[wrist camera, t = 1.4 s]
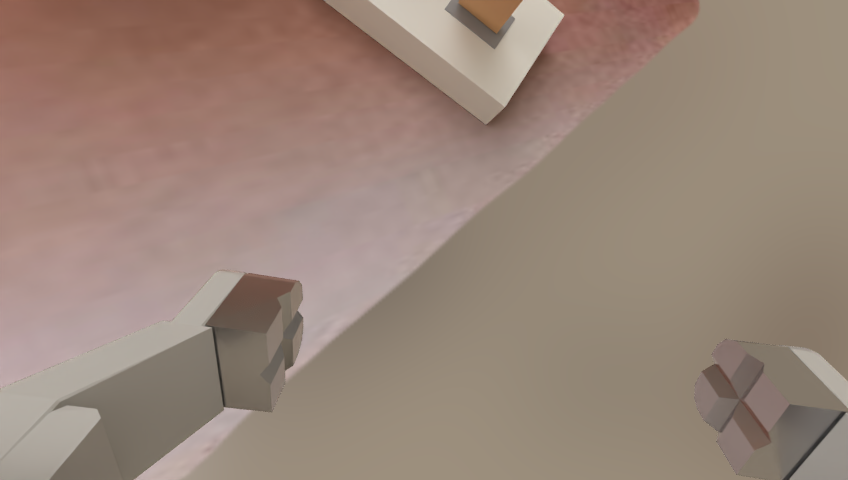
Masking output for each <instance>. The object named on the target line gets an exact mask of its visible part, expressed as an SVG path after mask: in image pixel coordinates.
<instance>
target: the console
mask: <svg viewBox="0 0 848 480" xmlns="http://www.w3.org/2000/svg"><path fill="white" fill-rule="evenodd" d="M324 1H325V2H326V3H327V4H329V5H330V6H331V7H333V8H334V9H335V10H337V11H338V12H339V13H340V14H342V15H343V16H344V17H346V18H347V19H348V20H350V21H351V22H352V23H354V24H355V25H356V26H357V27H359V28H360V29H361V30H363V31H364V32H365V33H367V34H368V35H369V36H371V37H372V38H373V39H374V40H376V41H377V42H378V43H380V44H381V45H382V46H384V47H385V48H386V49H388V50H389V51H390V52H391V53H393V54H394V55H395V56H397V57H398V58H399V59H401V60H402V61H403V62H404V63H406V64H407V65H408V66H410V67H411V68H412V69H414V70H415V71H416V72H418V73H419V74H420V75H421V76H423V77H424V78H425V79H427V80H428V81H429V82H431V83H432V84H433V85H435V86H436V87H437V88H438V89H440V90H441V91H442V92H444V93H445V94H446V95H448V96H449V97H450V98H451V99H453V100H454V101H455V102H457V103H458V104H459V105H461V106H462V107H463V108H465V109H466V110H467V111H468V112H470V113H471V114H472V115H474V116H475V117H476V118H478V119H479V120H480V121H482V122H483V123H484V124H485V125H486V124H488V123H489V122H490V121H491V120H492V119H493V118H494V117H495V116H496V115H497V114H498V113H499V112H500V111H502V110H503V109H504V108H505V107H506V105H507V103H508V102H509V100H510V99H511V97H512V96H513V94H514V93H515V91H516V89H517V88H518V86H519V85H520V83H521V82H522V80H523V79H524V77H525V76H526V74H527V72H528V71H529V69H530V68H531V66H532V65H533V63H534V62H535V60H536V58H537V57H538V55H539V54H540V52H541V51H542V49H543V48H544V46H545V44H546V43H547V41H548V40H549V38H550V37H551V35H552V34H553V32H554V31H555V29H556V27H557V26H558V24H559V23H560V21H561V20H562V18H563V17H564V14H563V13H562V12H560V11H559V10H558V9H557V8H556V7H554V6H553V5H552V4H551V3H550V2H548V1H547V0H523V1H522V2H521V3H520V5H519V6H518V7H517V8H516V10H515V11H514V12H513V14H512V15H511V16H510V17H509V19H508V20H507V21H506V22H505V24H504V25H503V26H502V28H501V29H500V30H499V31H498V33H497V34H496V33H495V32H493V31H492V30H491V29H490V28H488V27H487V26H486V25H485V24H483V23H482V22H481V21H480V20H478V19H477V18H476V17H475V16H474V15H472V14H471V13H470V12H469V11H467V10H466V9H465V8H464V7H462V6H461V5H460V4H459V3H458V2H459V0H324Z"/></svg>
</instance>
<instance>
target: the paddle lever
mask: <svg viewBox="0 0 848 480" xmlns="http://www.w3.org/2000/svg"><path fill="white" fill-rule="evenodd" d="M522 1H523V0H459V2H458V3H459V4H460V5H461V6H462V7H464V8H465V9H466V10H467V11H469V12H470V13H471V14H472V15H474V16H475V17H476V18H477V19H478V20H480V21H481V22H482V23H483V24H485V25H486V26H487V27H488V28H490V29H491V30H492V31H493V32H495V33H496V34H497V33H498V31H499V30H500V29H501V28H502V26H503V25H504V24H505V22H506V21H507V20H508V19H509V17H510V16H511V15H512V14H513V12H514V11H515V10H516V8H517V7H518V6H519V5H520V3H521V2H522Z"/></svg>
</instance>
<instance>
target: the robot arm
mask: <svg viewBox="0 0 848 480" xmlns="http://www.w3.org/2000/svg"><path fill="white" fill-rule="evenodd" d="M302 300H303V294H302V284H301V283H300V281H296V280H290V279H284V278H277V277H271V276H265V275H258V274H252V273H245V272H238V271H230V270H220V271H217V272H216V273H215V274H214V275H213V276H212V277H211V278H210V279H209V280H208V281H207V283H206V284H205V285H204V286H203V287H202V288H201V289H200V290H199V291H198V293H197V294H196V295H195V296H194V297H193V298H192V299H191V300H190V301H189V303H188V304H187V305H186V306H185V307H184V308H183V309H182V310H181V311H180V313H179V314H178V315H177V316H176V317H175V318H174V319H173V320H172V321H171V322H169V321H161V322H158V323H156V324H153V325H151V326H149V327H146V328H144V329H142V330H139V331H137V332H134V333H132V334H130V335H127V336H125V337H122V338H120V339H118V340H115V341H113V342H110V343H108V344H106V345H103V346H101V347H98V348H96V349H94V350H91V351H89V352H87V353H84V354H82V355H79V356H77V357H75V358H72V359H70V360H67V361H65V362H63V363H60V364H58V365H55V366H53V367H51V368H48V369H46V370H43V371H41V372H39V373H36V374H34V375H32V376H29V377H27V378H24V379H22V380H20V381H17V382H15V383H12V384H10V385H8V386H5V387H3V388H0V480H134V479H135V478H136V477H138V476H139V475H140V474H142V473H143V472H144V471H145V470H147V469H148V468H149V467H151V466H152V465H153V464H155V463H156V462H157V461H158V460H160V459H161V458H162V457H164V456H165V455H166V454H167V453H169V452H170V451H171V450H173V449H174V448H175V447H177V446H178V445H179V444H180V443H182V442H183V441H184V440H186V439H187V438H188V437H190V436H191V435H192V434H193V433H195V432H196V431H197V430H199V429H200V428H201V427H202V426H204V425H205V424H206V423H208V422H209V421H210V420H212V419H213V418H214V417H215V416H217V415H218V414H219V413H221V412H222V411H223V410H224V407H227V408H236V409H246V410H255V411H265V412H272V411H273V409H274V407H275V405H276V402H277V400H278V398H279V396H280V394H281V392H282V389H283V387H284V385H285V370H287V369H288V368H290V367H291V366H293V365H294V362H295V360H296V358H297V355H298V352H299V349H300V345H301V341H302V334H303V317H302V316H301V314H300V313H299V312H298V311H297V310H298V308H299V306H300V304H301V302H302ZM712 357H713V360H714V365H712V366H710V367H708V368H707V369H705V370H703V371H702V372H701V374H700V376H699V378H698V380H697V382H696V384H695V402H696V405H697V409H698V411H699V413H700V414H701V416H702V418H703V420H704V421H705V422H706V423H708V424H709V425H710V426H711V427H713V428H714V429H715V430H716V431H718V436H717V441H716V442H717V443H718V445H719V446H720V448H721V450H722V451H723V453H724V455H725V456H726V458H727V460H728V461H729V463H730V465H731V466H732V468H733V470H734V471H735V473H736V475H741V476H747V477H754V478H759V479H765V480H848V381H847V380H846V379H845V378H844V377H843V376H841V375H840V374H839V373H838V372H837V371H836V370H835V369H834V368H833V367H832V366H831V365H830V364H829V363H828V362H827V361H826V360H825V359H824V358H823V357H822V356H821V355H820V354H818V353H817V352H814V351H812V350H810V349H808V348H801V347H793V346H783V345H779V346H775V345H768V344H759V343H753V342H745V341H737V340H728V339H725V340H724V341H722V342H721V343H719V344H718V345H717V346H716V348H715V350H714V351H713V353H712Z"/></svg>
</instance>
